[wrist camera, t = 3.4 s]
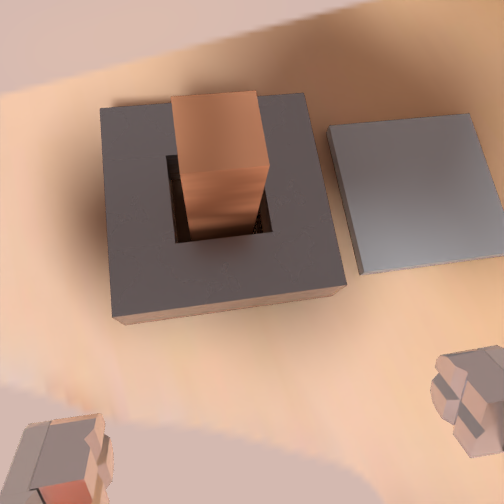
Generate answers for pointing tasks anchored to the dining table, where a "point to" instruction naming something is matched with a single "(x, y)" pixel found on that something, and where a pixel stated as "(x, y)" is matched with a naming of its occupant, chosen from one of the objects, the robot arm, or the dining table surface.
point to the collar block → (222, 249)
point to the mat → (416, 192)
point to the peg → (220, 162)
